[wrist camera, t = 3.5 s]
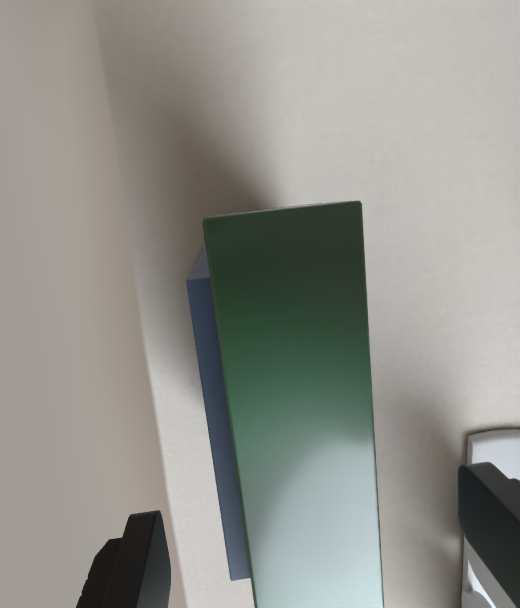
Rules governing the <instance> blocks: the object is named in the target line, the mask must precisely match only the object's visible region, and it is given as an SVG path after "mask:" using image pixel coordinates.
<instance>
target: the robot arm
mask: <svg viewBox="0 0 520 608" xmlns="http://www.w3.org/2000/svg"><path fill="white" fill-rule="evenodd" d="M458 517H459V523H460V526H461V529H462V532H463V534H464V536H465V538H466V540H467V541H468V543H469V544H470V545H471V547H472V548H473V550H474V551H475V552H476V554H477V555H478V556H479V558H480V559H481V560H482V562H483V563H484V564H485V566H486V567H487V568H488V570H489V571H490V573H491V574H492V575H493V577H494V578H495V579H496V581H497V582H498V583H499V585H500V586H501V587H502V589H503V590H504V591H505V593H506V594H507V595H508V597H509V598H510V600H511V601H512V602H513V604H514V605H515V606H516V608H520V480H518V479H516V478H512V479H509V478H508V477H506V476H505V475H504V474H503V473H502V472H501V471H500V470H499V469H498V468H497V467H496V466H495V465H494V464H492V463H491V462H481V463H474V464H467V465H461V466H460V467H459V469H458ZM170 586H171V566H170V558H169V552H168V547H167V541H166V536H165V530H164V525H163V520H162V515H161V512H160V511H159V510H157V511H150V512H144V513H137V514H131V515H130V516H129V518H128V521H127V524H126V527H125V531H124V534H123V537H122V538H116V539H109V540H108V542H107V543H106V544H105V545H104V547H103V548H102V549H101V550H100V551H99V553H98V554H97V555H96V556H95V558H94V561H93V563H92V566H91V568H90V571H89V574H88V579H87V580H86V582H85V585H84V587H83V590H82V596H80V598H79V601H78V604H77V606H76V608H168V601H169V594H170Z"/></svg>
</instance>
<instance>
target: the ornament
mask: <svg viewBox="0 0 520 608" xmlns="http://www.w3.org/2000/svg"><path fill="white" fill-rule="evenodd" d="M481 462H491V463H492V464H494V465H495V466H496V467H497V468H498V469H499V470H500V471H501V472H502V473H503V474H504V475H505V476H506V477H508V478H509V479H512V478H516V479H518V480H520V430H518V429H507V430H494V431H487V432H481V433H477V434H473V435H469V436H468V445H467V464H474V463H481ZM461 602H462V608H516V606H515V605H514V604H513V602H512V601H511V600H510V598H509V597H508V595H507V594H506V593H505V591H504V590H503V589H502V587H501V586H500V585H499V583H498V582H497V581H496V579H495V578H494V577H493V575H492V574H491V573H490V571H489V570H488V568H487V567H486V566H485V564H484V563H483V562H482V560H481V559H480V558H479V556H478V555H477V554H476V552H475V551H474V550H473V548H472V547H471V545H470V544H469V543H468V541H467V540H466V538H465V536H464V555H463V583H462V595H461Z"/></svg>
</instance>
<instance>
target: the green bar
mask: <svg viewBox="0 0 520 608" xmlns="http://www.w3.org/2000/svg"><path fill="white" fill-rule="evenodd" d="M203 230H204V237H205V245H206V252H207V259H208V267H209V274H210V281H211V289H212V296H213V303H214V311H215V318H216V326H217V333H218V340H219V348H220V355H221V362H222V370H223V377H224V384H225V392H226V399H227V407H228V414H229V421H230V429H231V436H232V443H233V451H234V458H235V465H236V473H237V480H238V488H239V495H240V502H241V510H242V517H243V524H244V532H245V539H246V546H247V554H248V561H249V568H250V576H251V583H252V591H253V598H254V605H255V608H384V596H383V578H382V560H381V542H380V524H379V506H378V488H377V470H376V452H375V434H374V416H373V398H372V380H371V362H370V344H369V326H368V308H367V290H366V272H365V254H364V236H363V218H362V204H361V201H345V202H331V203H318V204H308V205H299V206H291V207H282V208H273V209H264V210H255V211H246V212H237V213H228V214H219V215H211V216H208V217H206V218H204V219H203Z"/></svg>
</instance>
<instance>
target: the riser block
mask: <svg viewBox="0 0 520 608" xmlns="http://www.w3.org/2000/svg"><path fill="white" fill-rule="evenodd" d="M186 283H187V290H188V296H189V303H190V310H191V317H192V323H193V330H194V337H195V344H196V350H197V357H198V364H199V371H200V377H201V384H202V391H203V397H204V404H205V411H206V418H207V424H208V431H209V438H210V445H211V451H212V458H213V465H214V472H215V478H216V485H217V492H218V499H219V505H220V512H221V519H222V526H223V532H224V539H225V546H226V553H227V559H228V566H229V573H230V579H231V581H234V580H240V579H246V578H251V576H250V568H249V561H248V554H247V546H246V539H245V532H244V524H243V517H242V510H241V502H240V495H239V488H238V480H237V473H236V465H235V458H234V451H233V443H232V436H231V429H230V421H229V414H228V407H227V399H226V392H225V384H224V377H223V370H222V362H221V355H220V348H219V340H218V333H217V326H216V318H215V311H214V303H213V296H212V289H211V281H210V274H209V267H208V259H207V252H206V249H202V251H201V253H200V255H199V257H198V259H197V261H196V263H195V265H194V267H193V269H192V271H191V273H190V275H189V277H188V279H187V281H186Z"/></svg>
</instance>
